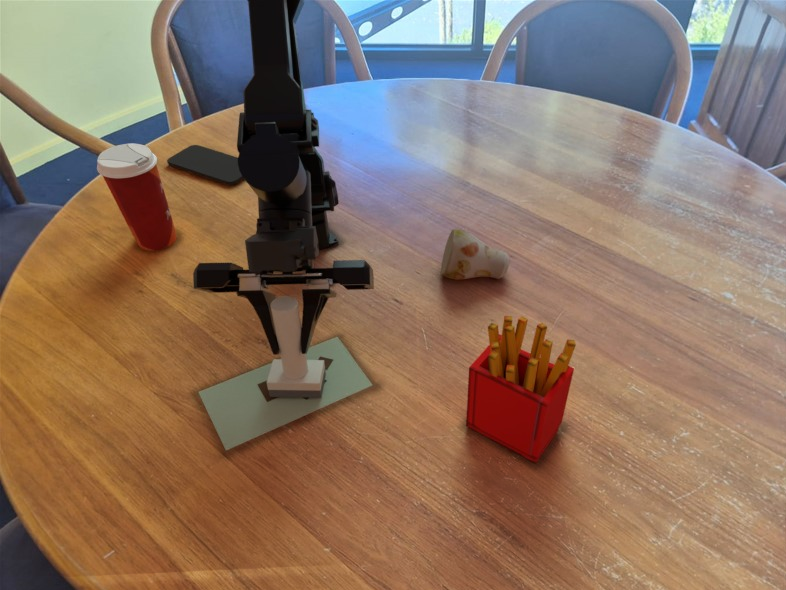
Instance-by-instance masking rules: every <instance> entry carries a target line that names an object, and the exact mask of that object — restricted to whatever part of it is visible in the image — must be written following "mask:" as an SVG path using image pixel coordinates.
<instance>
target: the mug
mask: <svg viewBox="0 0 786 590" xmlns="http://www.w3.org/2000/svg"><path fill="white" fill-rule="evenodd" d="M510 261H511V260H510V257H509V255H508V254H507V253H506V252H505V251H501V250H499V249H495V248H492V247H490V246H489V245H487V243H485V242H483V241H482V240H480V239H479V238H478V237H476V236H475V235H473V234H472V233H470V232H469V231H466V230H465V229H457V228H456V229H452V230H451V231H450V233H449V236H448V238H447V241H446V244H445V247H444V251H443V255H442V259H441V267H440V275H441V276H443V277H444V278H448V279H451V280H456V281H457V280H467V279H473V278H479V277H487V278H492V279H497V280H498V279H502V278H504V277H505V276H506V275H507V273H508V270H509V266H510V263H511V262H510Z"/></svg>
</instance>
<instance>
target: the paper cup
mask: <svg viewBox="0 0 786 590" xmlns="http://www.w3.org/2000/svg"><path fill="white" fill-rule="evenodd" d="M96 162H97V165H96V171H97V172H98V174H100V175H101V176H102V177H103V179H104V182H105V184H106V185H107V187H108V189H109V192H110V193H111V195H112V197H113V199H114V201H115V203H116V205H117V207H118V209H119V212H120V213H121V215H122V217H123V219H124V221H125V222H126V225H127V226H128V228H129V230H130V232H131V235H132V236H133V238H134V240H135V242H136V243H137V245H138V246H139V248H140V249H142V250H144V251H145V250H146V251H160V250H163V249H166V248H168V247H170V246H172V245H173V244H175V242H176V240H177V238H178V237H177V232H176V228H175V224H174V221H173V217H172V214H171V209H170V207H169V203H168V200H167V197H166V193H165V189H164V186H163V182H162V179H161V176H160V172H159V169H158V165H157V163H158V157H157V156H156V154H155V153H153V152H152V150H151V149H150V148H149V147H148V146H147V145H144V144H140V143H134V142H133V143H132V142H131V143H123V144H118V145H117V144H116V145H114V146H111V147H109V148H107V149H105V150H102V152H100V154H99V155H98V157H97V160H96Z"/></svg>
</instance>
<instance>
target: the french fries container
mask: <svg viewBox="0 0 786 590" xmlns="http://www.w3.org/2000/svg"><path fill="white" fill-rule="evenodd" d="M528 321H529V319H528V318H526V317H524V316H520V317H518V319H517V323H516V328H515V326H514V325H513V316H512V315H503V323H502V330H501V334H500V333H499V324H497V323H494V322H491V323H490V324H489V325H488V326H487V332H488V341H489V342H488V343H489V344H488V346H486V348H485V349H484V350H483V351H482V352H481V353H480V354H479V356H478V357H477V358H476V359H475V360H474V361H473V362H472V363H471V364H470V366H469V367H468V383H467V401H466V403H467V405H466V421H465V422H466V423H465V426H466V427H467V428H468V429H471V430H473V431H475V432H476V433H477V434H480V435H482V436H484V437H486V438H488V439H489V440H492V441H493V442H495V443H498V444H499V445H501V446H502V447H505V448H506V449H508V450H510V451H512V452H514V453H515V454H518V455H520V456H522V457H524V458H525V459H527V460H529V461H531V462H533V463H535V464H537V463H538V461H539V460H540V458H541V457H542V455H544V454H543V453H544V452H545V451H546V449H547V448H548V446H549V445H550V444H551V442H552V440H553V439H554V437H555V436H556V434H557V433H558V431H559V427H560V426H561V425H562V423H563V419H564V415H565V411H566V406H567V401H568V396H569V393H570V388H571V383H572V379H573V375H574V371H575V368H574V367H572V366H571V365H569V364H570V362H571V359H572V357H573V354H574V351H575V349H576V346H577V343H576V340H575V339H568V338H567V339H566V341H565V343H564V344H565V345H564V347H563V350H562V352H561V353H560V354H559V355H558V357H557V358H556V360H555V362H554V363H551V362H550V360H551V355H552V348H553V341H552V340H549V339H545V338H546V335H547V331H548V325H546V324H544V323H543V322H541V323H538V324H536V328H535V332H534V337H533V341H532V345H531V349H530V352H528V351H526V350H524V349H522V346H523V342H524V338H525V333H526V330H527V326H528Z"/></svg>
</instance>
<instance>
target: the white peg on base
mask: <svg viewBox="0 0 786 590" xmlns="http://www.w3.org/2000/svg"><path fill="white" fill-rule="evenodd" d="M271 311H272V316H273V321H274V326H275V331H276V336H277V341H278V347H279V356H280V358H279V359H278V358H274V359H272V362H271V363H272V366H271V369H270V373H269V376H268V380H267V387H268V391H269V395H270V397H312V398H321V397H322V392H323V387H324V381H325V376H326V372H325V363H324V360H307V359H306V354H302V351H301V330H302V320H301V315H300V308H299V303H298V300H297V299H296V298H295V297H293V296H290V295H282V296H277V297H276V299H274V300H273V301H272V302H271Z"/></svg>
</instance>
